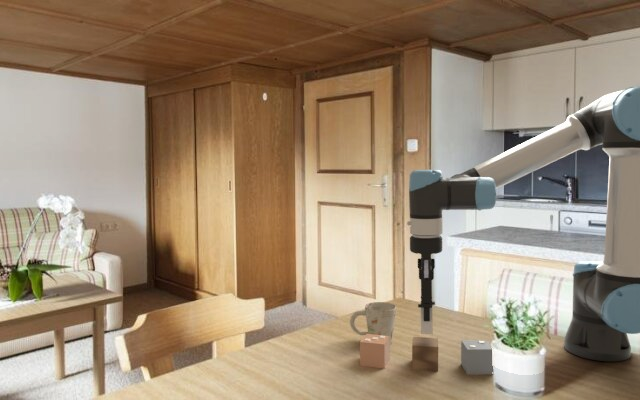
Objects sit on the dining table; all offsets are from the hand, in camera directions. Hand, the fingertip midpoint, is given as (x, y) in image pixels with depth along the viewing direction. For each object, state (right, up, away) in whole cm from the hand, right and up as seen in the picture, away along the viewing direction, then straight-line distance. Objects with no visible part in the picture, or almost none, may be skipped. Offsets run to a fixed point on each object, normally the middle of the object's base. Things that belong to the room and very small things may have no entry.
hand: (426, 332), depth 127 cm
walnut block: (0, -8, +1) cm, 8 cm away
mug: (-11, -7, +17) cm, 22 cm away
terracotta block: (-12, -8, +3) cm, 15 cm away
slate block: (+11, -8, -2) cm, 14 cm away
